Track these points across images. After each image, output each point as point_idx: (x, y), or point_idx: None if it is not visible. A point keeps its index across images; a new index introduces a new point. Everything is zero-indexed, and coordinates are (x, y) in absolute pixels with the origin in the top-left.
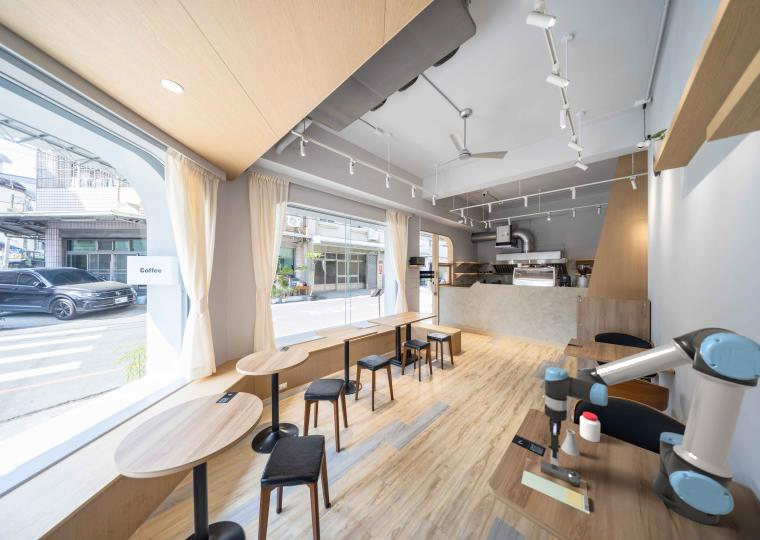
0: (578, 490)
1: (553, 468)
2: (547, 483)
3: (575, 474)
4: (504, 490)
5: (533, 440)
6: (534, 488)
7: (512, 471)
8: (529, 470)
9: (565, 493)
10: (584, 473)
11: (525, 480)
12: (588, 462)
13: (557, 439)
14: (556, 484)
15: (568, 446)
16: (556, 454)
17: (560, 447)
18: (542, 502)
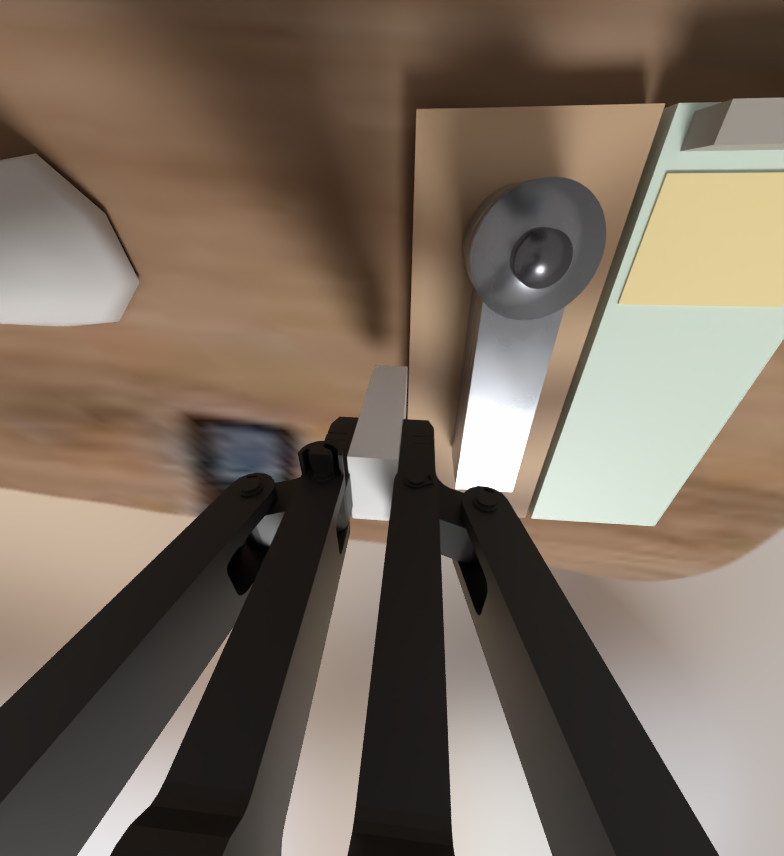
0: (605, 199)
1: (524, 420)
2: (604, 417)
3: (564, 236)
4: (698, 559)
5: (175, 470)
6: (682, 477)
7: (541, 540)
8: (519, 497)
9: (680, 310)
10: (249, 123)
11: (623, 511)
12: (14, 63)
13: (696, 847)
14: (592, 367)
15: (32, 286)
16: (433, 452)
17: (341, 456)
18: (754, 429)
